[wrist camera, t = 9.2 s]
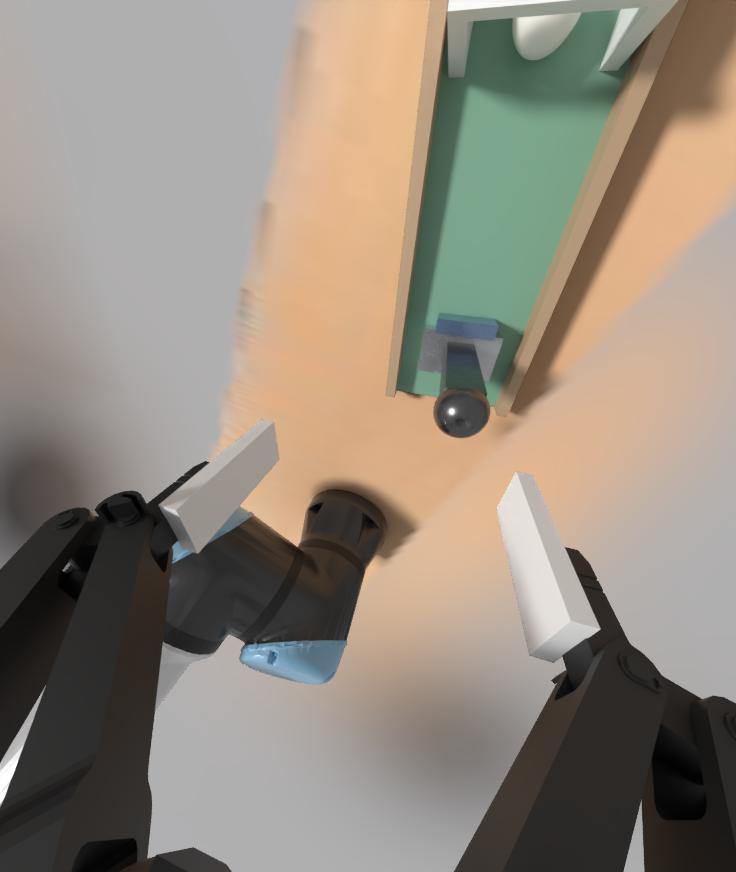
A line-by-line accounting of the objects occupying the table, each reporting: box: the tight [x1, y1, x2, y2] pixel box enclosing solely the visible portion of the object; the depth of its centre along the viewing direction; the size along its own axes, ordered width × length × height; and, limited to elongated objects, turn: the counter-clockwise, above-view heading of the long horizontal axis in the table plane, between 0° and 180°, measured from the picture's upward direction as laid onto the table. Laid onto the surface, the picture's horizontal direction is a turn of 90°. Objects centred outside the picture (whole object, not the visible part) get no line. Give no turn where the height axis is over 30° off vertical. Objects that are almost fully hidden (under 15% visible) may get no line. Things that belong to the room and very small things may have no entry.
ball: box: [512, 12, 582, 60], centre depth 14 cm, size 4×4×4 cm
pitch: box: [386, 0, 689, 417], centre depth 21 cm, size 30×13×3 cm, turn 176°
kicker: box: [417, 313, 504, 438], centre depth 20 cm, size 5×7×15 cm
